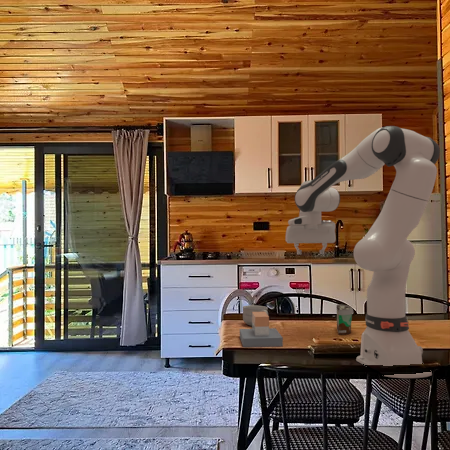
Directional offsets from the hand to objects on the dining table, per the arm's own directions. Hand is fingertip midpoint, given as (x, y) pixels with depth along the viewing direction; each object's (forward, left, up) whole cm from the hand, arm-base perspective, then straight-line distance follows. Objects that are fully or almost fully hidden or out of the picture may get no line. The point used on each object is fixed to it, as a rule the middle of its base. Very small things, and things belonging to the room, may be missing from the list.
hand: (310, 254), depth 164 cm
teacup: (+10, +21, -31) cm, 39 cm away
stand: (-15, +23, -31) cm, 41 cm away
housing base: (-15, +23, -28) cm, 39 cm away
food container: (-4, -13, -31) cm, 34 cm away
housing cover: (-15, +23, -25) cm, 37 cm away
